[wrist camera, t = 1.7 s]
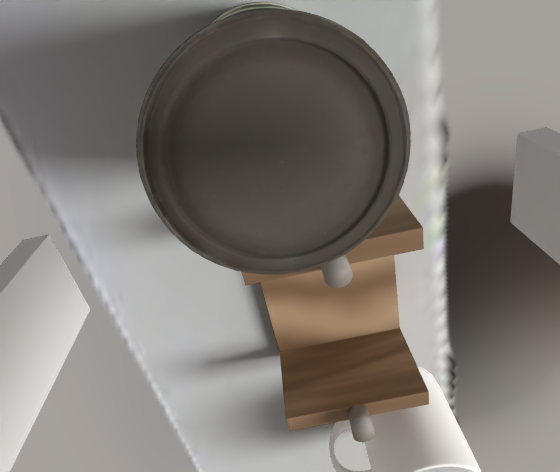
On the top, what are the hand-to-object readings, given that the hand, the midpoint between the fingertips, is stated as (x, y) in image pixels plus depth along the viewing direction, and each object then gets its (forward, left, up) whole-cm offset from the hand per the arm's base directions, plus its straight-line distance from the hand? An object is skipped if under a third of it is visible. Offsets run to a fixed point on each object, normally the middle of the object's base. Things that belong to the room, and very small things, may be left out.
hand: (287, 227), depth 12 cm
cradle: (+16, +2, -19) cm, 24 cm away
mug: (+32, +5, -19) cm, 37 cm away
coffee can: (0, 0, -19) cm, 19 cm away
